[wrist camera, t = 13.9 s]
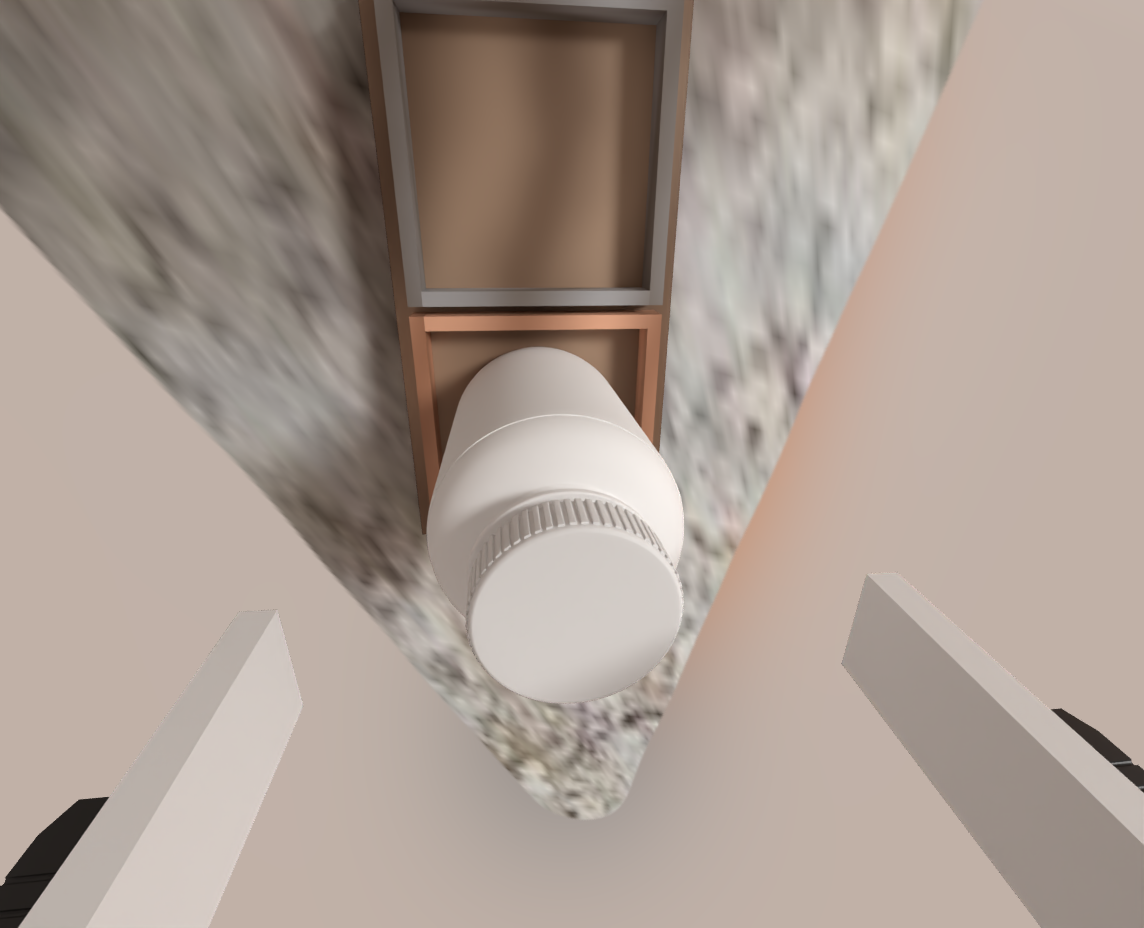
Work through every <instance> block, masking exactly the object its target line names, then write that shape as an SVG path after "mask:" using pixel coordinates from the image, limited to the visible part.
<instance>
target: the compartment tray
mask: <svg viewBox="0 0 1144 928" xmlns="http://www.w3.org/2000/svg"><path fill="white" fill-rule="evenodd" d="M358 2H359V11H360V19H361V27H362V36H363V44H364V52H365V60H366V69H367V77H368V85H369V94H370V102H371V110H372V119H373V127H374V135H375V144H376V152H377V160H378V168H379V177H380V185H381V193H382V202H383V210H384V218H385V227H386V235H387V243H388V252H389V260H390V268H391V276H392V285H393V293H394V301H395V310H396V318H397V326H398V335H399V343H400V351H401V360H402V368H403V376H404V384H405V393H406V401H407V409H408V418H409V426H410V434H411V443H412V451H413V459H414V468H415V476H416V484H417V492H418V501H419V509H420V517H421V526H422V534H427V519H428V512H429V507H430V503H431V499H432V495H433V491H434V488H435V484H436V481H437V477H438V474H439V470H440V467H441V463H442V460H443V456H444V453H445V449H446V446H447V442H448V439H449V435H450V432H451V428H452V425H453V421H454V418H455V414H456V411H457V407H458V404H459V401H460V399H461V396H462V394H463V392H464V391H465V389H466V387H467V386H468V384H469V383H470V381H471V380H472V379H473V378H474V376H475V375H476V374H477V373H478V372H479V371H480V370H481V369H482V368H483V367H484V366H486V365H487V364H488V363H490V362H491V361H493V360H494V359H496V358H498V357H499V356H501V355H503V354H506V353H508V352H511V351H514V350H518V349H522V348H528V347H549V348H555V349H560V350H563V351H566V352H569V353H571V354H574V355H576V356H578V357H580V358H581V359H583V360H585V361H586V362H588V363H589V364H590V365H592V366H593V367H594V368H595V369H597V370H598V371H599V372H600V373H601V374H602V376H603V377H604V378H605V379H606V380H607V382H608V383H609V385H610V386H611V387H612V389H613V390H614V391H615V393H616V394H617V396H618V397H619V398H620V400H621V401H622V403H623V404H624V405H625V407H626V408H627V410H628V411H629V412H630V414H631V415H632V416H633V418H634V419H635V421H636V422H637V423H638V425H639V426H640V428H641V429H642V430H643V432H644V433H645V435H646V436H647V437H648V439H649V440H650V441H651V443H652V444H653V446H654V447H655V448H656V450H657V451H658V453H659V447H660V434H661V421H662V408H663V395H664V382H665V369H666V356H667V343H668V330H669V317H670V304H671V291H672V278H673V265H674V252H675V239H676V226H677V213H678V200H679V187H680V174H681V161H682V148H683V135H684V122H685V109H686V96H687V83H688V70H689V57H690V44H691V31H692V18H693V5H694V0H358Z"/></svg>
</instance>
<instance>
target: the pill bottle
mask: <svg viewBox="0 0 1144 928" xmlns="http://www.w3.org/2000/svg"><path fill="white" fill-rule="evenodd" d="M683 537H684V514H683V505H682V500H681V496H680V492H679V489H678V486H677V484H676V481H675V479H674V477H673V475H672V473H671V471H670V469H669V468H668V466H667V464H666V463H665V461H664V460H663V458H662V457H661V455H660V454H659V453H658V451H657V450H656V448H655V447H654V446H653V444H652V443H651V441H650V440H649V439H648V437H647V436H646V435H645V433H644V432H643V430H642V429H641V428H640V426H639V425H638V423H637V422H636V421H635V419H634V418H633V416H632V415H631V414H630V412H629V411H628V410H627V408H626V407H625V405H624V404H623V403H622V401H621V400H620V398H619V397H618V396H617V394H616V393H615V391H614V390H613V389H612V387H611V386H610V385H609V383H608V382H607V380H606V379H605V378H604V377H603V376H602V374H601V373H600V372H599V371H598V370H597V369H595V368H594V367H593V366H592V365H590V364H589V363H588V362H586V361H585V360H583V359H581V358H580V357H578V356H576V355H574V354H571V353H569V352H566V351H563V350H560V349H555V348H549V347H528V348H522V349H518V350H514V351H511V352H508V353H506V354H503V355H501V356H499V357H498V358H496V359H494V360H493V361H491V362H490V363H488V364H487V365H486V366H484V367H483V368H482V369H481V370H480V371H479V372H478V373H477V374H476V375H475V376H474V378H473V379H472V380H471V381H470V383H469V384H468V386H467V387H466V389H465V391H464V392H463V394H462V396H461V399H460V401H459V404H458V407H457V411H456V414H455V418H454V421H453V425H452V428H451V432H450V435H449V439H448V442H447V446H446V449H445V453H444V456H443V460H442V463H441V467H440V470H439V474H438V477H437V481H436V484H435V488H434V491H433V495H432V499H431V503H430V507H429V512H428V519H427V547H428V553H429V557H430V561H431V564H432V567H433V570H434V573H435V575H436V578H437V580H438V582H439V584H440V586H441V588H442V590H443V592H444V593H445V595H446V596H447V598H448V599H449V601H450V602H451V603H452V604H453V606H454V607H455V608H456V609H457V610H458V611H459V612H460V613H461V614H462V615H463V616H464V617H465V618H466V630H467V638H468V639H469V644H470V647H472V652H473V654H474V655H476V659H477V661H478V662H479V663H480V664H481V666H482V667H483V669H484V670H486V672H487V673H488V674H489V675H490V676H491V677H492V678H493V679H495V680H496V681H497V682H498V683H500V684H501V685H502V686H504V687H505V688H507V689H509V690H510V691H512V692H514V693H516V694H519V695H521V696H524V697H526V698H530V699H533V700H537V701H542V702H548V703H559V704H570V703H581V702H588V701H593V700H597V699H601V698H604V697H607V696H610V695H613V694H615V693H617V692H620V691H622V690H624V689H626V688H628V687H629V686H631V685H633V684H634V683H636V682H638V681H639V680H640V679H642V678H643V677H644V676H646V675H647V674H648V673H649V672H650V671H652V670H653V669H654V668H655V667H656V666H657V665H658V663H659V662H660V661H661V660H662V659H663V658H664V656H665V655H666V653H667V652H668V651H669V649H670V647H671V646H672V644H673V642H674V640H675V638H676V635H677V633H678V630H679V627H680V623H681V620H682V614H683V606H682V605H684V599H683V597H682V596H683V590H682V588H681V587H682V584H681V581H680V579H679V575H678V573H677V571H676V567H677V564H678V561H679V558H680V554H681V550H682V545H683Z"/></svg>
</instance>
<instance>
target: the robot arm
mask: <svg viewBox="0 0 1144 928" xmlns="http://www.w3.org/2000/svg"><path fill="white" fill-rule="evenodd" d="M841 664H842V665H843V666H844V668H845V669H846V670H847V672H848V673H849V674H850V676H851V677H852V678H853V680H854V681H855V682H856V684H857V685H858V686H859V688H860V689H861V690H862V691H863V693H864V694H865V696H866V697H867V698H868V699H869V701H870V702H871V703H872V705H873V706H874V707H875V709H876V710H877V711H878V712H879V714H880V715H881V717H882V718H883V719H884V721H885V722H886V723H887V724H888V726H889V727H890V728H891V730H892V731H893V732H894V734H895V735H896V736H897V738H898V739H899V740H900V742H901V743H902V744H903V746H904V747H905V748H906V750H907V751H908V752H909V754H910V755H911V756H912V757H913V759H914V760H915V761H916V763H917V764H918V766H919V767H920V768H921V769H922V771H923V772H924V773H925V775H926V776H927V777H928V779H929V780H930V781H931V782H932V784H933V785H934V787H935V788H936V789H937V791H938V792H939V793H940V795H941V796H942V797H943V798H944V800H945V801H946V803H947V804H948V805H949V806H950V808H951V809H952V810H953V812H954V813H955V814H956V816H957V817H958V818H959V820H960V821H961V822H962V824H963V825H964V826H965V827H966V829H967V830H968V832H969V833H970V834H971V835H972V837H973V838H974V839H975V841H976V842H977V843H978V845H979V846H980V847H981V849H982V850H983V851H984V853H985V854H986V855H987V857H988V858H989V859H990V860H991V862H992V863H993V864H994V866H995V867H996V869H997V870H998V871H999V873H1000V874H1001V875H1002V876H1003V878H1004V879H1005V880H1006V882H1007V883H1008V884H1009V886H1010V887H1011V888H1012V890H1013V891H1014V892H1015V894H1016V895H1017V896H1018V898H1019V899H1020V900H1021V902H1022V903H1023V904H1024V906H1025V907H1026V908H1027V909H1028V911H1029V912H1030V913H1031V915H1032V916H1033V917H1034V919H1035V920H1036V921H1037V923H1038V924H1039V925H1040V927H1041V928H1144V770H1143V769H1142V768H1141V767H1140V766H1138V765H1133V763H1132V762H1131V759H1130V758H1129V757H1128V756H1127V755H1126V754H1124V753H1123V752H1122V751H1121V750H1120V749H1119V748H1117V747H1116V746H1115V745H1114V744H1113V743H1112V742H1110V741H1109V740H1108V739H1107V738H1106V737H1105V736H1103V735H1102V734H1101V733H1100V732H1099V731H1097V730H1096V729H1094V728H1092V727H1091V726H1089V725H1087V724H1085V723H1084V722H1082V721H1080V720H1079V719H1077V718H1076V717H1074V716H1072V715H1071V714H1069V713H1067V712H1066V711H1064V710H1063V709H1049V708H1048V707H1047V706H1046V705H1045V704H1044V703H1043V702H1042V701H1041V700H1039V699H1038V698H1037V697H1036V696H1035V695H1034V694H1033V693H1032V692H1030V691H1029V690H1028V689H1027V688H1026V687H1025V686H1024V685H1023V684H1021V683H1020V682H1019V681H1018V680H1017V679H1016V678H1015V677H1014V676H1013V675H1011V674H1010V673H1009V672H1008V671H1007V670H1006V669H1005V668H1004V667H1003V666H1001V665H1000V664H999V663H998V662H997V661H996V660H994V658H992V657H991V656H990V655H989V654H988V653H987V652H986V651H985V650H983V649H982V648H981V647H980V646H979V645H978V644H977V643H976V642H975V641H973V640H972V639H971V638H970V637H969V636H968V635H967V634H966V633H964V632H963V631H962V630H961V629H960V628H959V627H958V626H957V625H956V624H955V623H953V622H952V621H951V620H950V619H949V618H948V617H947V616H946V615H944V614H943V613H942V612H941V611H940V610H939V609H938V608H937V607H936V606H934V605H933V604H932V603H931V602H930V601H929V600H928V599H926V598H925V597H924V596H923V595H922V594H921V593H920V592H919V591H918V590H916V589H915V588H914V587H913V586H912V585H911V584H910V583H909V582H907V581H906V580H905V579H904V578H903V577H902V576H901V575H900V574H899V573H897V572H889V573H873V574H866V578H865V581H864V585H863V588H862V592H861V596H860V599H859V603H858V606H857V610H856V613H855V617H854V621H853V624H852V628H851V632H850V635H849V639H848V642H847V646H846V649H845V653H844V657H843V660H842V663H841ZM302 708H303V703H302V699H301V695H300V691H299V688H298V684H297V680H296V677H295V673H294V669H293V666H292V662H291V658H290V654H289V651H288V647H287V643H286V639H285V636H284V632H283V628H282V625H281V621H280V617H279V613H278V610H261V611H245V612H239V613H238V614H237V615H236V617H235V618H234V619H233V621H232V622H231V624H230V625H229V627H228V628H227V629H226V631H225V633H224V634H223V635H222V637H221V638H220V639H219V641H218V643H217V644H216V645H215V647H214V648H213V650H212V651H211V652H210V654H209V655H208V657H207V658H206V660H205V661H204V663H203V664H202V665H201V667H200V668H199V670H198V671H197V672H196V674H195V675H194V677H193V678H192V680H191V681H190V683H189V684H188V685H187V687H186V688H185V690H184V691H183V693H182V694H181V695H180V697H179V698H178V700H177V701H176V702H175V704H174V705H173V707H172V708H171V710H170V711H169V713H168V714H167V715H166V717H165V718H164V720H163V721H162V723H161V724H160V726H159V727H158V728H157V730H156V731H155V733H154V734H153V735H152V737H151V738H150V740H149V741H148V743H147V744H146V745H145V747H144V748H143V750H142V751H141V753H140V754H139V756H138V757H137V758H136V760H135V761H134V763H133V764H132V766H131V767H130V769H129V770H128V771H127V773H126V774H125V776H124V777H123V778H122V780H121V781H120V783H119V784H118V786H117V787H116V788H115V790H114V791H113V793H112V794H111V796H110V797H103V798H92V799H81V800H78V801H77V802H76V803H75V804H73V805H72V806H71V807H70V808H69V809H68V810H67V811H65V812H64V813H63V814H62V815H61V816H60V817H59V818H57V819H56V820H55V821H54V822H53V823H52V824H50V825H49V826H48V827H47V828H46V829H45V830H44V831H42V832H41V833H40V834H39V835H38V836H37V837H36V838H35V840H34V841H33V843H32V844H31V845H30V846H29V848H28V849H27V850H26V851H25V853H24V854H23V855H22V857H21V858H20V859H19V860H18V862H17V863H16V865H15V866H14V867H13V868H12V870H11V871H10V872H9V873H8V875H7V876H6V880H5V883H4V884H3V885H2V886H0V928H208V927H209V925H210V923H211V920H212V918H213V915H214V913H215V911H216V908H217V906H218V904H219V902H220V899H221V897H222V894H223V892H224V890H225V888H226V885H227V883H228V880H229V878H230V876H231V873H232V871H233V869H234V866H235V864H236V862H237V859H238V857H239V855H240V852H241V850H242V848H243V845H244V843H245V841H246V838H247V836H248V834H249V831H250V829H251V827H252V824H253V822H254V820H255V817H256V815H257V813H258V810H259V808H260V806H261V803H262V801H263V798H264V796H265V794H266V792H267V789H268V787H269V785H270V782H271V780H272V778H273V775H274V773H275V771H276V768H277V766H278V764H279V761H280V759H281V756H282V754H283V752H284V749H285V747H286V745H287V743H288V740H289V738H290V735H291V733H292V731H293V729H294V726H295V724H296V721H297V719H298V717H299V715H300V712H301V710H302Z"/></svg>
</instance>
